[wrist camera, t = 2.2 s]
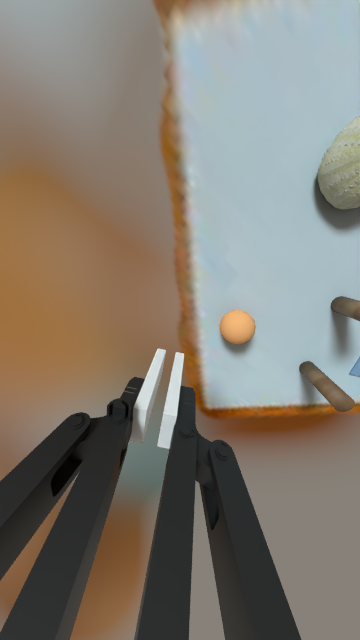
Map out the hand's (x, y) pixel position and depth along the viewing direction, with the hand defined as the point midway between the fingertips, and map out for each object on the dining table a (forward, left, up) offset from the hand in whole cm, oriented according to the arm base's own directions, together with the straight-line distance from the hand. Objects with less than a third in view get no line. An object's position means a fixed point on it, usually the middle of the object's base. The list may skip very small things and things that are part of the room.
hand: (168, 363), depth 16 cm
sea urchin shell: (-19, -24, -17) cm, 34 cm away
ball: (-10, 0, -14) cm, 17 cm away
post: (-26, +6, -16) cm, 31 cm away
